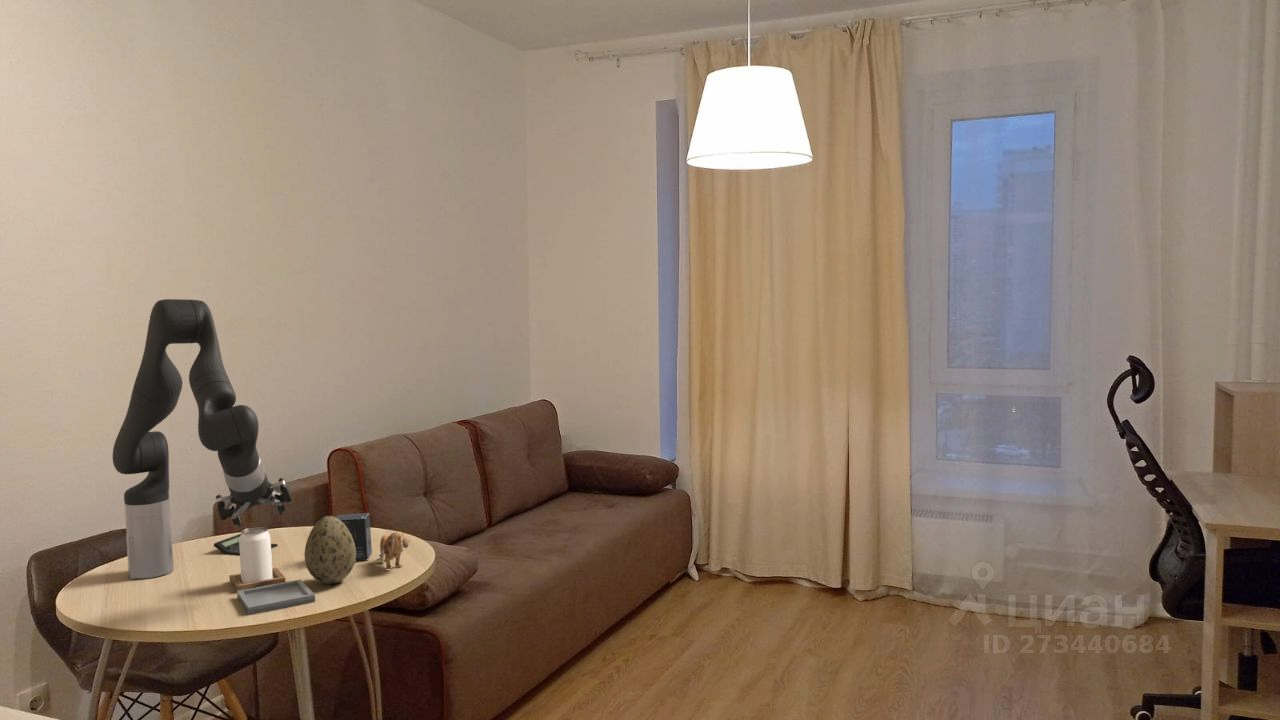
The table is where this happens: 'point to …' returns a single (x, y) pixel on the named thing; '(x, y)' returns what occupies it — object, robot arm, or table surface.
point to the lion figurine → (392, 548)
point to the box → (359, 533)
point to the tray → (275, 596)
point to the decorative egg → (330, 551)
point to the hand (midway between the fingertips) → (260, 517)
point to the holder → (277, 579)
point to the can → (255, 555)
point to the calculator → (231, 545)
